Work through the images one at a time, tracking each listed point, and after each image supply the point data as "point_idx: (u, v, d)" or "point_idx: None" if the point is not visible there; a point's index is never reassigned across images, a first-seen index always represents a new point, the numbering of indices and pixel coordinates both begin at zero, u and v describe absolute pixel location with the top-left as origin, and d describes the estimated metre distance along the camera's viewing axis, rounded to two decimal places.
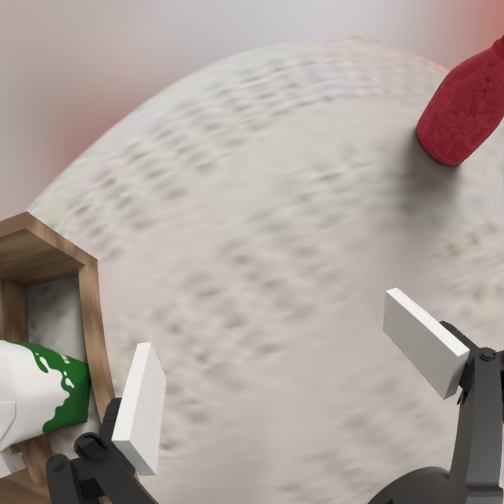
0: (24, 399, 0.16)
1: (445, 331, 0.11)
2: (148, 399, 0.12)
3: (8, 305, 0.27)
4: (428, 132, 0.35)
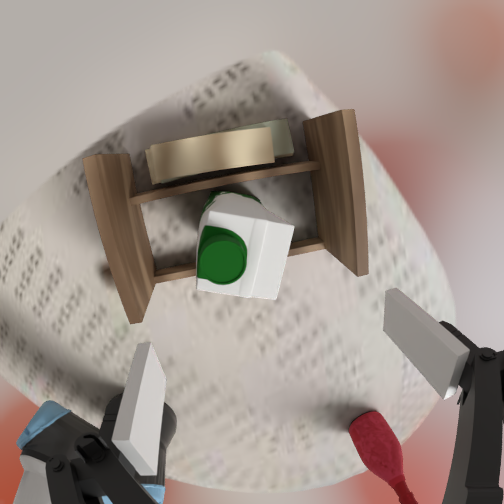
0: None
1: (445, 331, 0.11)
2: (148, 399, 0.12)
3: None
4: (369, 420, 0.60)
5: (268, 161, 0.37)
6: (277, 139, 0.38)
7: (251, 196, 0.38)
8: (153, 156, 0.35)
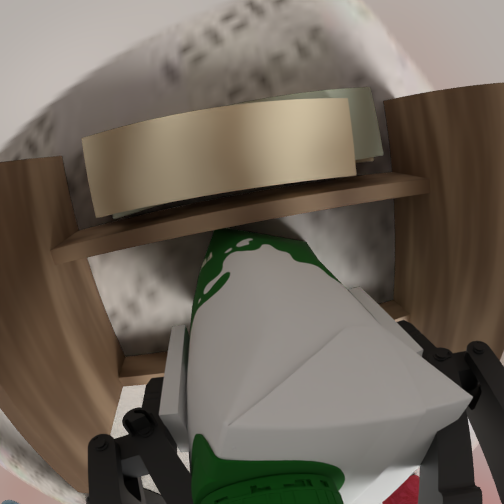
0: None
1: (400, 330, 0.12)
2: None
3: None
4: (407, 488, 0.40)
5: (344, 173, 0.16)
6: (353, 127, 0.18)
7: (306, 250, 0.17)
8: (87, 162, 0.14)
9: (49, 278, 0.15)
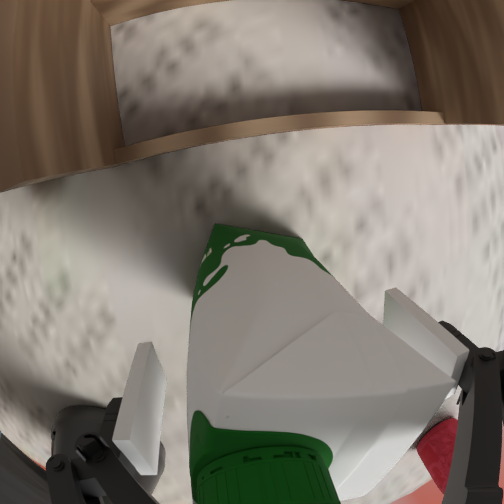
0: None
1: (445, 331, 0.11)
2: (148, 399, 0.12)
3: None
4: (450, 432, 0.35)
5: None
6: None
7: (300, 246, 0.18)
8: None
9: None
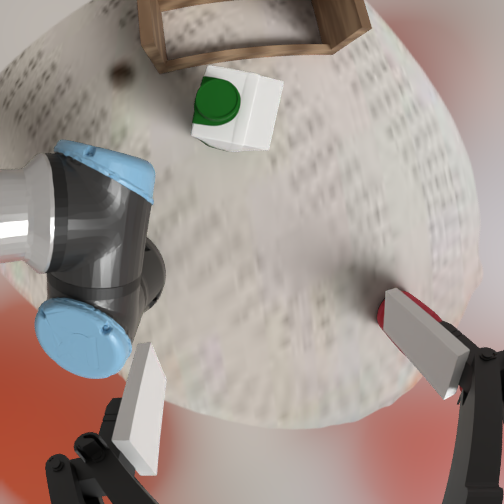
0: None
1: (445, 331, 0.11)
2: (148, 399, 0.12)
3: None
4: None
5: None
6: None
7: None
8: None
9: None
